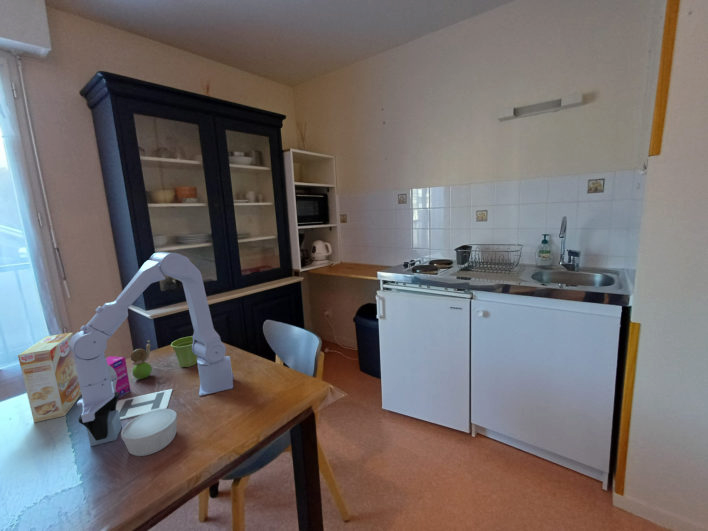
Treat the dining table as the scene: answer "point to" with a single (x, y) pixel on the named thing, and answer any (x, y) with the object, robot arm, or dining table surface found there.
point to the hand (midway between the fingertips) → (105, 431)
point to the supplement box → (118, 374)
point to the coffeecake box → (50, 377)
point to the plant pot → (184, 351)
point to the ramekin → (150, 432)
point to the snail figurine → (141, 362)
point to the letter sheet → (143, 404)
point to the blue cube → (113, 429)
